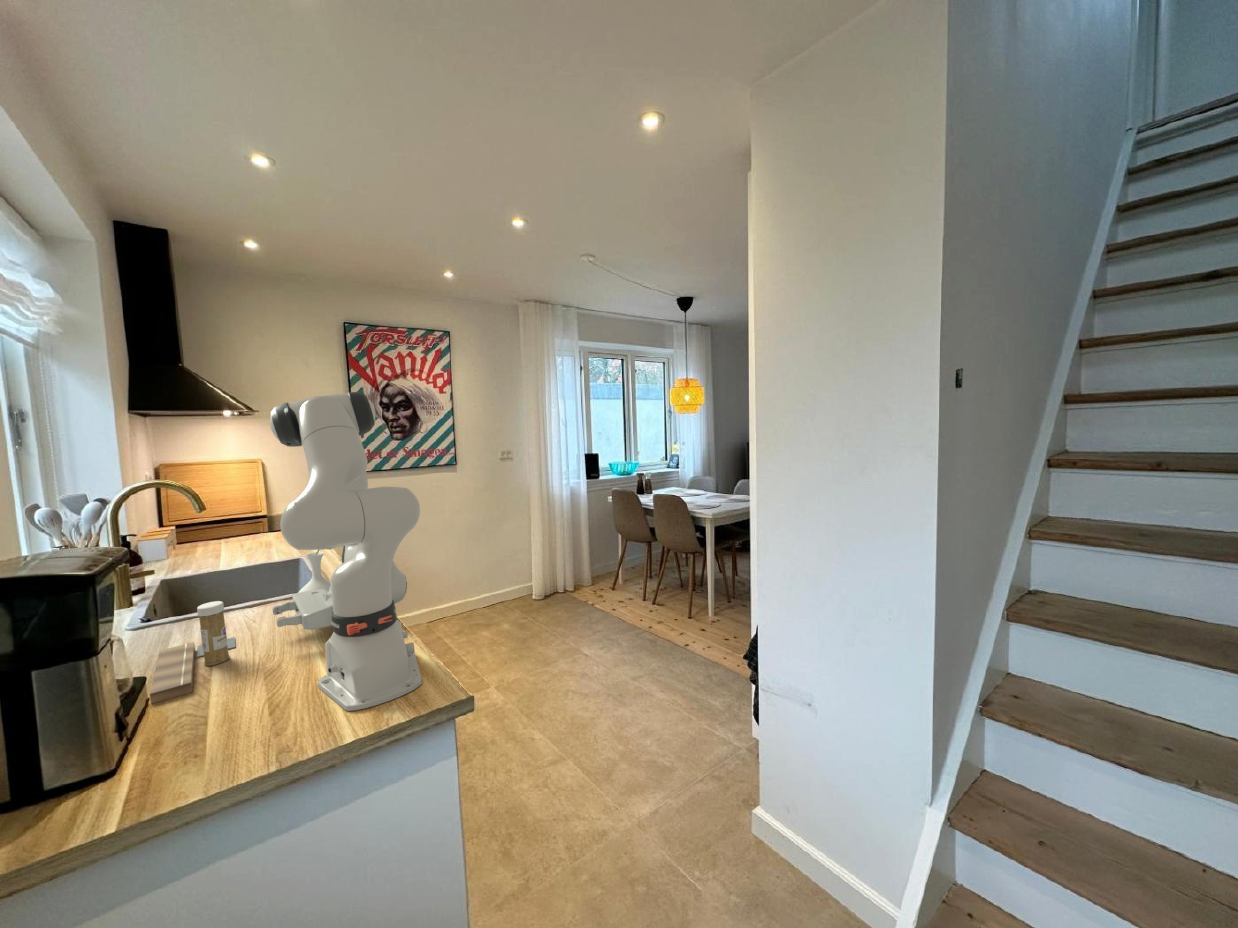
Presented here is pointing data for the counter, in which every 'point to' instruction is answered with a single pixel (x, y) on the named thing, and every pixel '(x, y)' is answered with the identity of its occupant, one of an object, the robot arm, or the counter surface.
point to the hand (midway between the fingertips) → (274, 616)
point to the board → (173, 673)
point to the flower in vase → (316, 573)
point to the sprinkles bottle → (213, 632)
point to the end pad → (230, 645)
